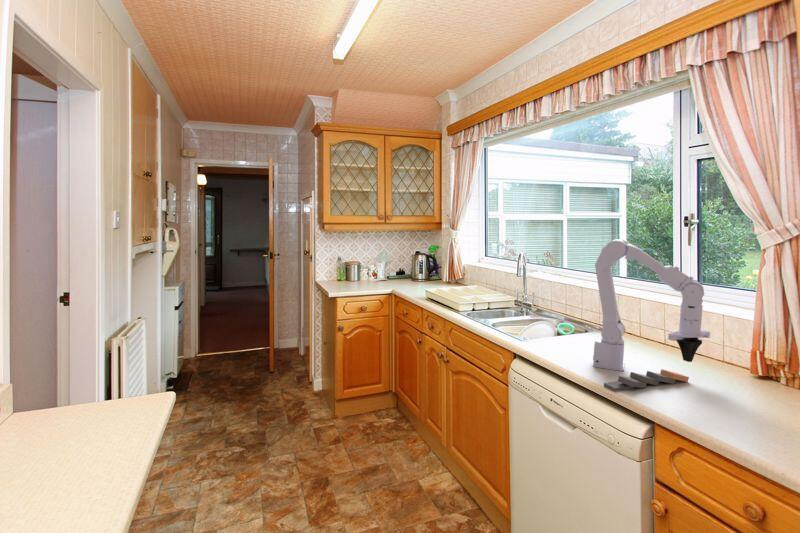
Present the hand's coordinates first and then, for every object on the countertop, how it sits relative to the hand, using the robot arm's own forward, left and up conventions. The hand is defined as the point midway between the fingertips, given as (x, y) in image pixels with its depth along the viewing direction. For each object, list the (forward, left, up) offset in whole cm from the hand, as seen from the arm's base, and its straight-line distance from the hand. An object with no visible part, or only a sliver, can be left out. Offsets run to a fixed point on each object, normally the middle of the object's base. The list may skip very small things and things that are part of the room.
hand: (687, 360), depth 139 cm
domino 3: (-10, -10, -5) cm, 15 cm away
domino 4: (-5, -5, -5) cm, 9 cm away
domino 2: (-13, -14, -5) cm, 20 cm away
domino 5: (-1, -1, -5) cm, 6 cm away
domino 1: (-16, -16, -6) cm, 24 cm away
